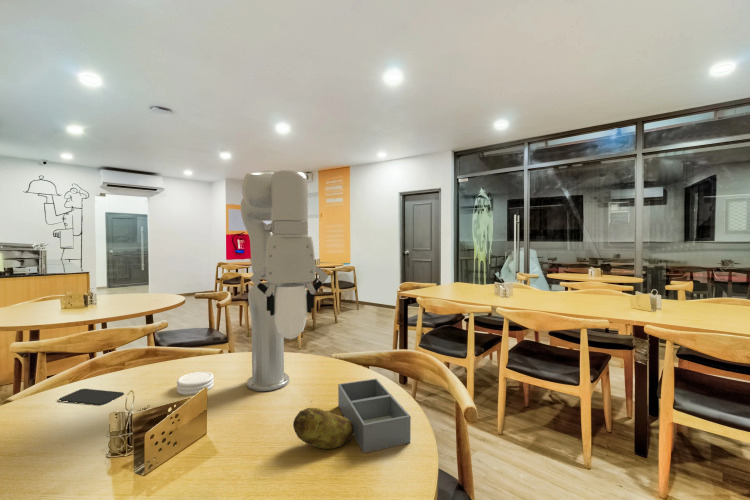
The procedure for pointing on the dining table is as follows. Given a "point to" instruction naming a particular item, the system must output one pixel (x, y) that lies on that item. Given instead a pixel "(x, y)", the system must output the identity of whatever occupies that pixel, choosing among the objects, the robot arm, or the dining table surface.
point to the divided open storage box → (374, 415)
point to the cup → (290, 309)
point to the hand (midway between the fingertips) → (290, 312)
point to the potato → (322, 428)
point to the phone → (92, 396)
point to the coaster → (194, 382)
